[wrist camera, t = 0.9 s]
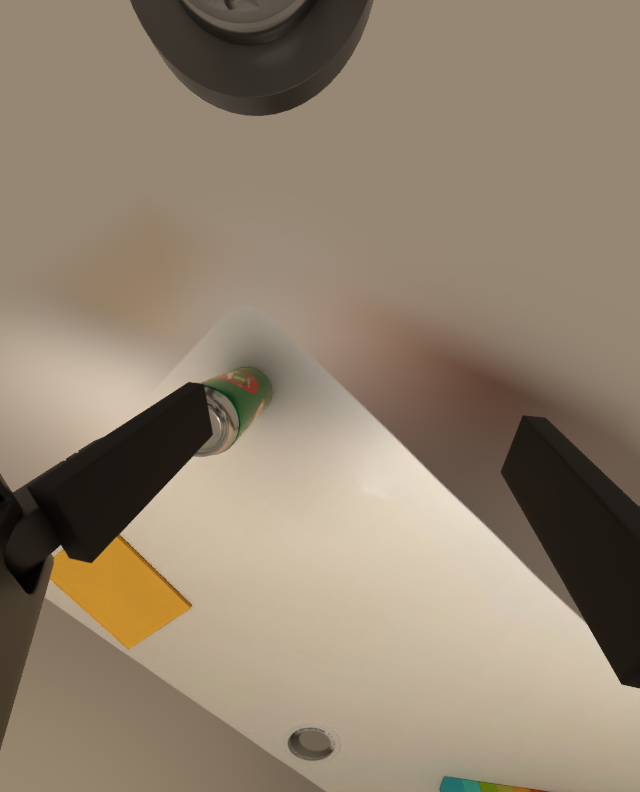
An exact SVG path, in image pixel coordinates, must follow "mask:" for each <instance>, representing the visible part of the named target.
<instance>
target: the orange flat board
mask: <svg viewBox="0 0 640 792" xmlns="http://www.w3.org/2000/svg"><path fill="white" fill-rule="evenodd" d="M50 580H51V581H52V582H53V583H54V584H56V585H57V586H58V587H59V588H60V589H61V590H62V591H63V592H64V593H66V594H67V595H68V596H69V597H70V598H71V599H72V600H73V601H75V602H76V603H77V604H78V605H79V606H80V607H81V608H82V609H83V610H85V611H86V612H87V613H88V614H89V615H90V616H91V617H92V618H94V619H95V620H96V621H97V622H98V623H99V624H100V625H101V626H103V627H104V628H105V629H106V630H107V631H108V632H109V633H110V634H111V635H113V636H114V637H115V638H116V639H117V640H118V641H119V642H120V643H122V644H123V645H124V646H125V647H126V648H127V649H130V648H131V647H133V646H134V645H136V644H137V643H139V642H140V641H142V640H143V639H145V638H146V637H148V636H149V635H151V634H152V633H154V632H156V631H157V630H159V629H160V628H162V627H163V626H165V625H166V624H168V623H169V622H171V621H172V620H174V619H175V618H177V617H178V616H180V615H181V614H183V613H184V612H186V611H187V610H189V609H190V608H191V606H192V605H191V604H190V603H189V602H188V601H187V600H186V599H185V598H183V597H182V596H181V595H180V594H179V593H178V592H177V591H176V590H175V589H174V588H173V587H172V586H171V585H170V584H169V583H168V582H167V581H166V580H165V579H164V578H163V577H162V576H161V575H160V574H159V573H158V572H157V571H156V570H155V569H154V568H153V567H152V566H151V565H149V564H148V563H147V562H146V561H145V560H144V559H143V558H142V557H141V556H140V555H139V554H138V553H137V552H136V551H135V550H134V549H133V548H132V547H131V546H130V545H129V544H128V543H127V542H126V541H125V540H124V539H123V538H122V537H121V536H120V535H118V536H117V537H116V538H115V539H114V540H113V541H112V542H111V543H110V544H109V546H108V547H107V548H106V549H105V550H104V551H103V552H102V553H101V554H100V555H99V556H98V557H97V558H96V559H95V560H94V561H93V562H92V563H87V562H83V561H78V560H74V559H70V558H69V557H68V556H67V554H66V552H65V551H64V550H63V551H62V552H60V553H59V554H58V555H56V556H55V557H54V565H53V569H52V572H51V576H50Z"/></svg>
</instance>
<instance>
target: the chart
mask: <svg viewBox="0 0 640 792" xmlns="http://www.w3.org/2000/svg"><path fill="white" fill-rule="evenodd" d="M440 792H545V791H539V790H532V789H525V788H518V787H511V786H505V785H498V784H491V783H484V782H477V781H471V780H464V779H457V778H450V777H444V778H443V781H442V784H441V787H440Z"/></svg>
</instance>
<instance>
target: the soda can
mask: <svg viewBox="0 0 640 792" xmlns="http://www.w3.org/2000/svg"><path fill="white" fill-rule="evenodd" d="M201 384H204V387H205V392H206V398H207V403H208V409H209V414H210V420H211V425H212V431H213V435H212V437H211V438H210V439H209V440H208V441H207V442H206V443H205V444H204V445H203V446H202V447H201V448H200V449H199V450H198V451H197V452H196V453H195V455H194V456H196V457H205V456H209V455H216V454H220V453H222V452H224V451H226V450H227V449H229V448H230V447H231V446H232V445H233V444H234V443H235V442H236V441H237V440H238V438H239V437H240V436H241V435H242V434H243V433H244V432H245V431H246V429H247V428H248V427H249V426H250V425H251V424H252V423H253V422H254V420H255V419H256V418H257V417H258V416H259V415H260V414H261V413H262V411H263V410H264V409H265V408H266V407H267V406H268V404H269V402H270V400H271V396H272V389H271V385H270V382H269V380H268V379H267V377H266V376H265V375H264V374H263V373H262V372H260V371H259V370H257V369H254V368H250V367H243V368H239V369H236V370H233V371H231V372H228V373H225V374H223V375H220V376H217V377H215V378H212V379H209V380H207V381H204V382H201Z"/></svg>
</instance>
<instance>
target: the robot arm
mask: <svg viewBox="0 0 640 792" xmlns="http://www.w3.org/2000/svg"><path fill="white" fill-rule="evenodd" d="M178 1H179V2H180V4H181V5H182V7H183V8H184V9H185V11H186V12H187V13H188V15H189V16H190V17H191V18H192V19H193V20H194V21H195V22H196V23H197V24H198V25H199V26H200V27H201V28H203V29H204V30H205V31H207V32H208V33H210V34H211V35H213V36H215V37H217V38H219V39H221V40H223V41H226V42H230V43H233V44H239V45H258V44H263V43H267V42H270V41H273V40H275V39H277V38H279V37H281V36H283V35H285V34H286V33H288V32H289V31H291V30H292V29H293V28H295V27H296V26H297V25H298V24H299V23H300V22H301V21H302V20H303V19H304V18H305V17H306V15H307V14H308V13H309V12H310V10H311V9H312V7H313V6H314V5H315V3H316V1H317V0H178ZM212 435H213V431H212V425H211V420H210V414H209V409H208V403H207V398H206V392H205V387H204V384H201V383H191V382H188V383H187V384H185V385H184V386H182V387H180V388H179V389H177V390H176V391H174V392H173V393H171V394H170V395H168V396H167V397H165V398H163V399H162V400H160V401H159V402H157V403H156V404H154V405H153V406H151V407H150V408H148V409H146V410H145V411H143V412H142V413H140V414H139V415H137V416H136V417H134V418H132V419H131V420H129V421H128V422H126V423H125V424H123V425H122V426H120V427H119V428H117V429H116V430H114V431H112V432H111V433H109V434H108V435H106V436H105V437H102V438H100V439H98V440H95V441H93V442H92V443H90V444H88V445H87V446H85V447H84V448H82V449H81V450H79V452H78V453H74V454H73V455H71V456H70V457H68V458H67V459H66V461H62V462H60V463H59V464H57V465H56V466H54V467H53V468H51V469H49V470H48V471H46V472H45V473H43V474H42V475H40V476H38V477H37V478H35V479H34V480H32V481H30V482H29V483H27V484H26V485H24V486H23V487H21V488H19V489H18V490H16V491H15V492H13V493H12V491H11V490H10V488H9V487H8V486H7V484H6V482H5V480H4V479H3V477H2V476H1V474H0V749H1V745H2V742H3V739H4V735H5V732H6V728H7V725H8V721H9V718H10V714H11V711H12V707H13V704H14V700H15V697H16V694H17V690H18V686H19V683H20V680H21V676H22V673H23V669H24V666H25V662H26V659H27V655H28V652H29V648H30V645H31V642H32V638H33V634H34V631H35V628H36V624H37V620H38V617H39V614H40V610H41V607H42V603H43V600H44V596H45V593H46V590H47V586H48V583H49V579H50V576H51V572H52V569H53V565H54V558H53V556H52V554H51V553H52V552H53V551H54V550H56V549H57V548H58V547H59V546H60V545H61V546H62V547H63V549H64V551H65V552H66V554H67V556H68V557H69V558H70V559H74V560H78V561H83V562H87V563H92V562H93V561H94V560H95V559H96V558H97V557H98V556H99V555H100V554H101V553H102V552H103V551H104V550H105V549H106V548H107V547H108V546H109V544H110V543H111V542H112V541H113V540H114V539H115V538H116V537H117V536H118V535H119V534H120V533H121V532H122V531H123V530H124V529H125V528H126V526H127V525H128V524H129V523H130V522H131V521H132V520H133V519H134V518H135V517H136V516H137V515H138V514H139V513H140V512H141V511H142V510H143V508H144V507H145V506H146V505H147V504H148V503H149V502H150V501H151V500H152V499H153V498H154V497H155V496H156V495H157V494H158V493H159V492H160V490H161V489H162V488H163V487H164V486H165V485H166V484H167V483H168V482H169V481H170V480H171V479H172V478H173V477H174V476H175V475H176V474H177V473H178V471H179V470H180V469H181V468H182V467H183V466H184V465H185V464H186V463H187V462H188V461H189V460H190V459H191V458H192V457H193V456H194V455H195V453H196V452H197V451H198V450H199V449H200V448H201V447H202V446H203V445H204V444H205V443H206V442H207V441H208V440H209V439H210V438H211V437H212ZM501 474H502V475H503V477H504V479H505V481H506V483H507V484H508V486H509V488H510V490H511V491H512V493H513V494H514V497H515V498H516V500H517V502H518V504H519V505H520V507H521V509H522V511H523V512H524V514H525V516H526V518H527V519H528V521H529V523H530V525H531V526H532V528H533V530H534V531H535V533H536V535H537V537H538V539H539V540H540V542H541V544H542V546H543V547H544V549H545V551H546V553H547V554H548V556H549V558H550V560H551V561H552V563H553V565H554V567H555V568H556V570H557V572H558V574H559V575H560V577H561V579H562V580H563V583H564V584H565V586H566V588H567V590H568V591H569V593H570V595H571V597H572V598H573V600H574V602H575V604H576V605H577V607H578V608H579V611H580V612H581V614H582V616H583V618H584V619H585V621H586V623H587V625H588V626H589V628H590V630H591V632H592V633H593V635H594V637H595V639H596V640H597V642H598V644H599V646H600V647H601V649H602V651H603V653H604V654H605V656H606V658H607V660H608V661H609V663H610V665H611V667H612V668H613V670H614V672H615V674H616V675H617V677H618V679H619V681H620V682H621V684H622V685H627V686H631V687H636V688H640V506H637V505H636V504H635V503H634V502H633V501H632V500H631V499H630V498H629V497H628V496H627V495H626V494H625V493H624V492H623V491H622V490H621V489H620V488H619V487H618V486H616V485H615V484H614V483H613V482H612V481H611V480H610V479H609V478H608V477H607V476H606V475H605V474H604V473H603V472H602V471H601V470H600V469H599V468H598V467H596V466H595V465H594V464H593V463H592V462H591V461H590V460H589V459H588V458H587V457H586V456H585V455H584V454H583V453H582V452H581V451H580V450H579V449H578V448H577V447H575V446H574V445H573V444H572V443H571V442H570V441H569V440H568V439H567V438H566V437H565V436H564V435H563V434H562V433H561V432H560V431H559V430H558V429H557V428H556V427H555V426H554V425H552V424H551V423H550V422H549V421H548V420H547V419H546V418H543V417H532V416H522V419H521V421H520V424H519V427H518V429H517V432H516V435H515V437H514V439H513V442H512V444H511V447H510V450H509V452H508V455H507V457H506V460H505V462H504V465H503V468H502V470H501Z"/></svg>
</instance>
